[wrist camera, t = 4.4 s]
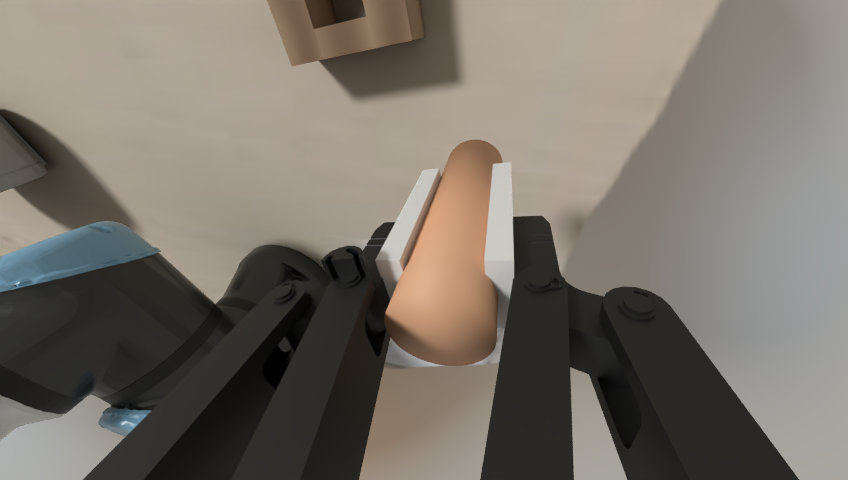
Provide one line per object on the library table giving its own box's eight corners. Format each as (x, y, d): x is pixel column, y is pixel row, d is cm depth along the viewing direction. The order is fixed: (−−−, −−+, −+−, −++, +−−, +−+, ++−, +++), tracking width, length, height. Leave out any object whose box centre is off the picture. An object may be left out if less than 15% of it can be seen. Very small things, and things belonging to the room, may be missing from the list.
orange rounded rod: (451, 193, 18) (398, 360, 9) (443, 143, 16) (370, 291, 8) (503, 189, 17) (499, 370, 8) (501, 136, 15) (492, 294, 7)
